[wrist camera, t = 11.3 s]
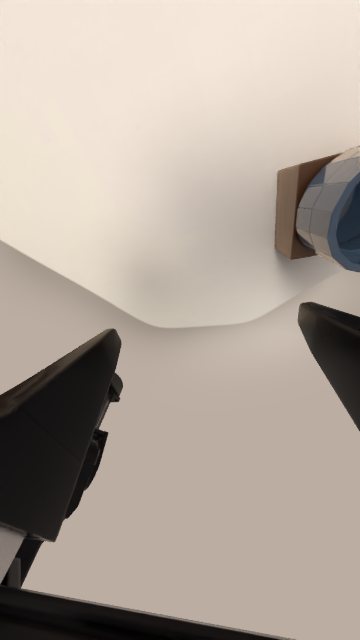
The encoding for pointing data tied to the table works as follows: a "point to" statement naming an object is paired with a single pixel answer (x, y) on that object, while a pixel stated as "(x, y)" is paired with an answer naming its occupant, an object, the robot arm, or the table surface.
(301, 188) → the walnut block
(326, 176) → the bowl
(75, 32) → the table surface
